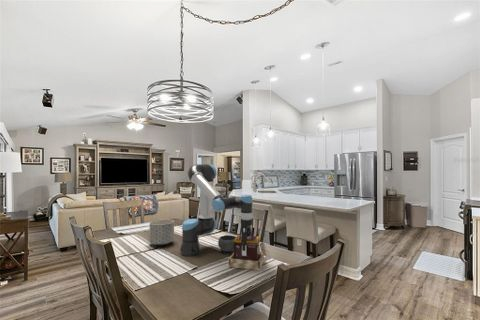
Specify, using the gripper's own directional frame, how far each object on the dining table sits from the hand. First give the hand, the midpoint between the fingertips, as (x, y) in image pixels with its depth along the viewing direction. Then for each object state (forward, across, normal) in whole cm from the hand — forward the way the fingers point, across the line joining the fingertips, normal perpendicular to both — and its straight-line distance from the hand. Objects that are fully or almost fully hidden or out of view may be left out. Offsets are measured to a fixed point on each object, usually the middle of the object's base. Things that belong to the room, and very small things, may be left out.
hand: (246, 251), depth 158 cm
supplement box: (+7, 0, 0) cm, 7 cm away
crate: (+8, 0, 0) cm, 8 cm away
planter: (+8, +21, +76) cm, 79 cm away
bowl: (+8, +20, +19) cm, 29 cm away
